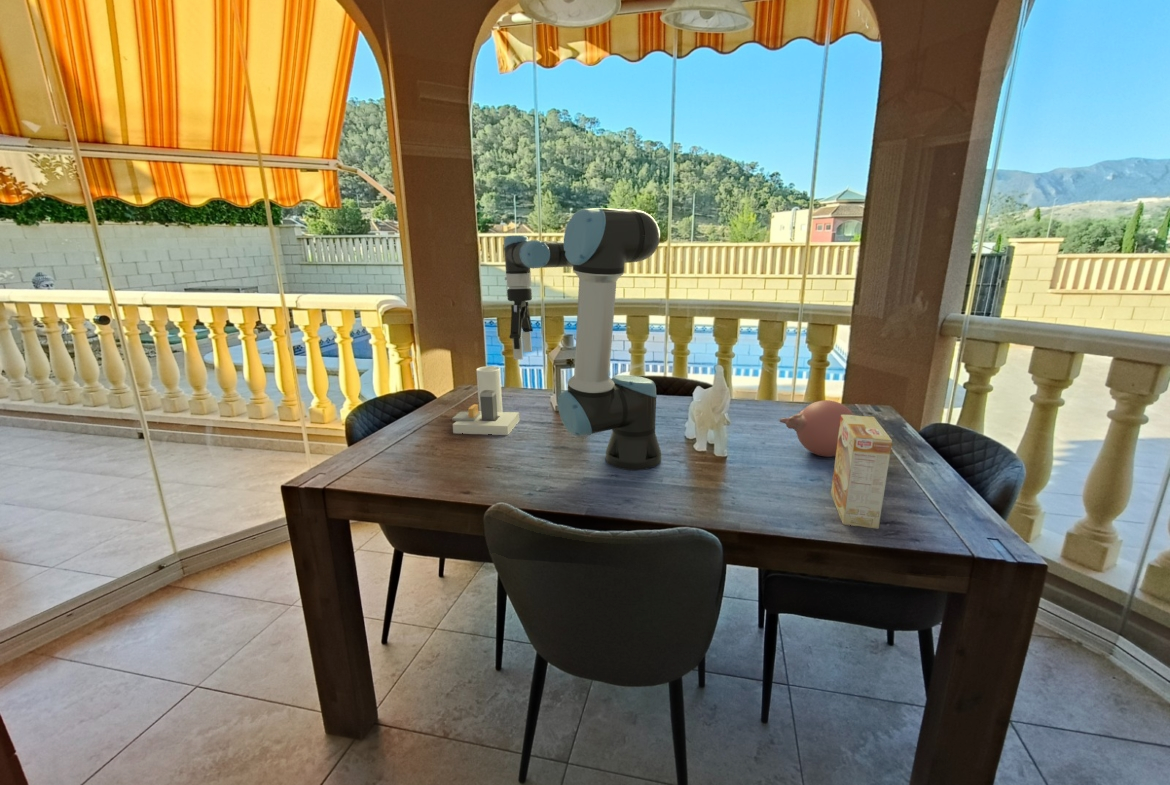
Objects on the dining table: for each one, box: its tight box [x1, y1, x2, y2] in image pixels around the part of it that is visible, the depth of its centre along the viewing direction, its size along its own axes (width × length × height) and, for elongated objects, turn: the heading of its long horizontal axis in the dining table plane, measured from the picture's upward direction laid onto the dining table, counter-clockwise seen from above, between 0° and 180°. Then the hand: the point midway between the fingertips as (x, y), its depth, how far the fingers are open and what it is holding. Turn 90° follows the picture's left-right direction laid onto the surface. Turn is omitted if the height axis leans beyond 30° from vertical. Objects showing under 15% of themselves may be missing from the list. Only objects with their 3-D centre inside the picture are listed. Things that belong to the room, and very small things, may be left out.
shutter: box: [451, 403, 480, 422], centre depth 166 cm, size 7×7×4 cm
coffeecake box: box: [830, 414, 893, 530], centre depth 108 cm, size 15×7×20 cm, turn 163°
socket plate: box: [452, 410, 520, 436], centre depth 166 cm, size 18×14×3 cm
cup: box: [475, 365, 504, 412], centre depth 180 cm, size 8×8×16 cm
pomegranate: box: [779, 399, 855, 458], centre depth 139 cm, size 15×20×15 cm
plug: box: [480, 390, 498, 421], centre depth 165 cm, size 4×4×12 cm
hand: (523, 355), depth 162 cm, fingers open, 13 cm apart
